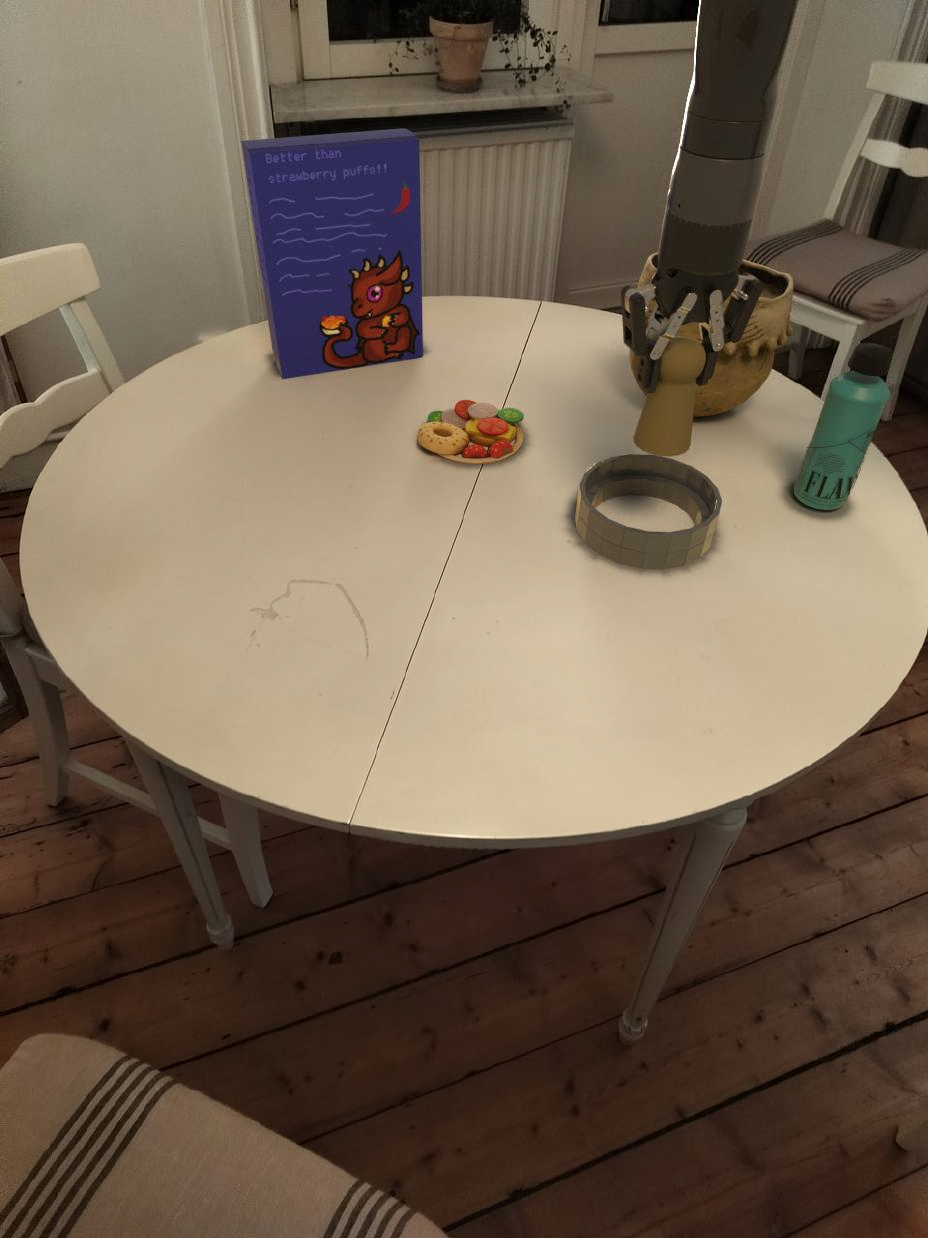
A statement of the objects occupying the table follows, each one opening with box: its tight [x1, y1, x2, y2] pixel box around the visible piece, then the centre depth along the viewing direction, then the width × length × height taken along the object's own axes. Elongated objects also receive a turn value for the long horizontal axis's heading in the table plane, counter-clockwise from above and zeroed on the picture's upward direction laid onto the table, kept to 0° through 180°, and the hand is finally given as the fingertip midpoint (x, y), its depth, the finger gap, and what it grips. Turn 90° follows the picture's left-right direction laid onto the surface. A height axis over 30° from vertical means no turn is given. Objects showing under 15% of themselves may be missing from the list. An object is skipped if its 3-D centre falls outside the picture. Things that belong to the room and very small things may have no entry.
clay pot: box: [628, 251, 794, 418], centre depth 111 cm, size 21×21×20 cm
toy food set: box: [416, 399, 525, 465], centre depth 109 cm, size 13×13×3 cm
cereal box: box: [240, 127, 424, 380], centre depth 116 cm, size 22×6×30 cm, turn 111°
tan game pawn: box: [632, 336, 706, 458], centre depth 84 cm, size 6×6×11 cm
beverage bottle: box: [793, 342, 894, 511], centre depth 94 cm, size 6×7×20 cm
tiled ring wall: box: [574, 453, 723, 571], centre depth 95 cm, size 16×16×6 cm
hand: (673, 385), depth 84 cm, fingers closed on tan game pawn, 5 cm apart
